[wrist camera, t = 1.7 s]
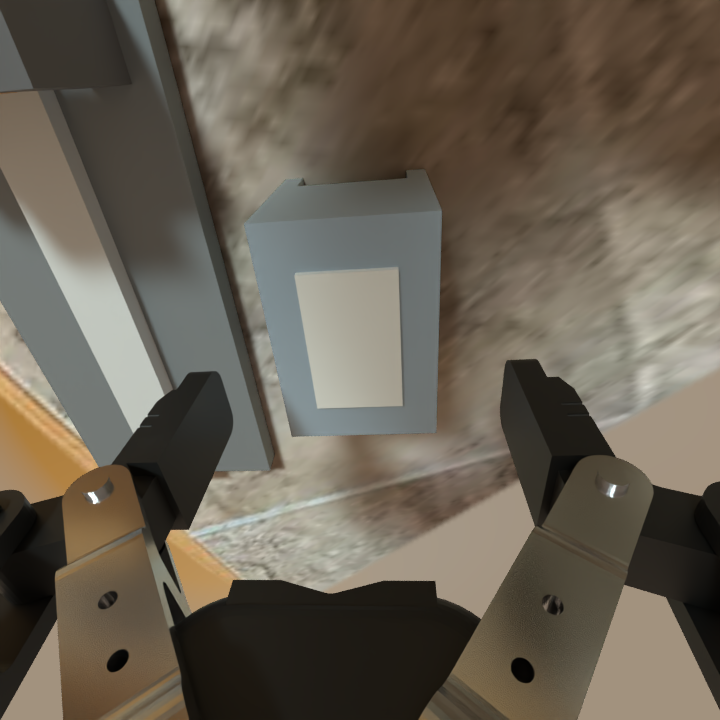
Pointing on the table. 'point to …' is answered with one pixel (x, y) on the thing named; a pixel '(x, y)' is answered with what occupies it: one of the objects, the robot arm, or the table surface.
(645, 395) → the table surface
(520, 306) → the table surface
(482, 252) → the table surface
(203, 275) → the rail mount
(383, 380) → the rail module
